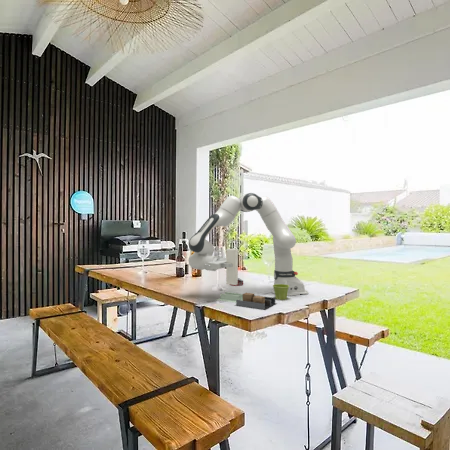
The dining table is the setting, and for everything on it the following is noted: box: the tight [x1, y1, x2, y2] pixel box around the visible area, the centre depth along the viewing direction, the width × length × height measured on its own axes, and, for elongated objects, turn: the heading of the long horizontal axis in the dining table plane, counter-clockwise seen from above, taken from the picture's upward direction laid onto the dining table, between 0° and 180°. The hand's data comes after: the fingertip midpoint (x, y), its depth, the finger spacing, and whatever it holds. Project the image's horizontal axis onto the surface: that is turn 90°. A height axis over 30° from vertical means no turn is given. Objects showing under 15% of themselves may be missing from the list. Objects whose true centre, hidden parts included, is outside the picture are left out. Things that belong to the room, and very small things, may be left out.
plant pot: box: [272, 284, 289, 301], centre depth 203 cm, size 9×9×9 cm
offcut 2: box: [253, 295, 266, 303], centre depth 185 cm, size 4×5×5 cm
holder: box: [215, 291, 244, 304], centre depth 201 cm, size 12×14×4 cm
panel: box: [225, 248, 239, 286], centre depth 201 cm, size 2×6×20 cm, turn 59°
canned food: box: [228, 277, 244, 287], centre depth 250 cm, size 11×10×10 cm
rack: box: [233, 294, 278, 311], centre depth 189 cm, size 16×18×4 cm
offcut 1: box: [242, 292, 255, 302], centre depth 188 cm, size 4×5×6 cm
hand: (233, 265), depth 200 cm, fingers closed on panel, 2 cm apart
